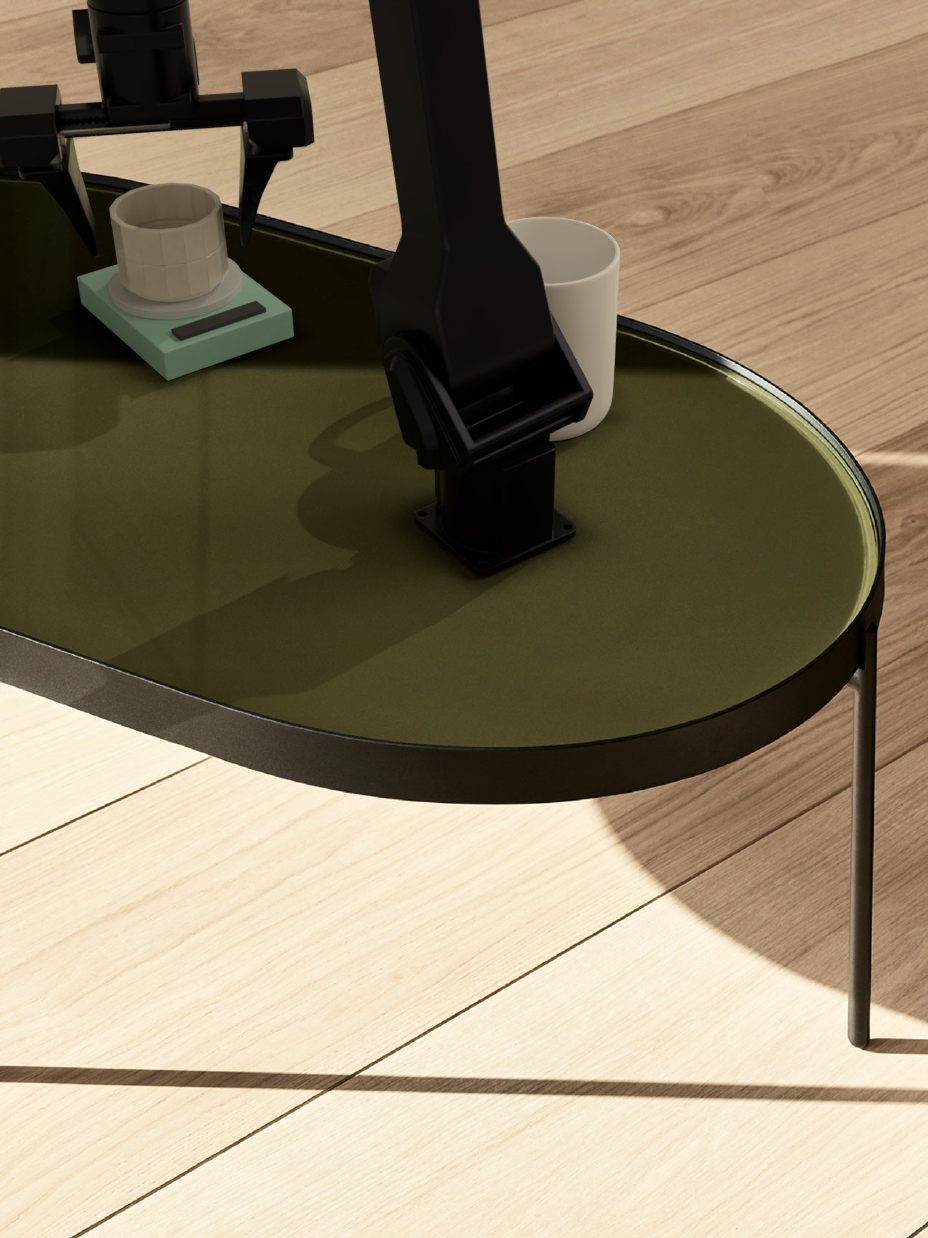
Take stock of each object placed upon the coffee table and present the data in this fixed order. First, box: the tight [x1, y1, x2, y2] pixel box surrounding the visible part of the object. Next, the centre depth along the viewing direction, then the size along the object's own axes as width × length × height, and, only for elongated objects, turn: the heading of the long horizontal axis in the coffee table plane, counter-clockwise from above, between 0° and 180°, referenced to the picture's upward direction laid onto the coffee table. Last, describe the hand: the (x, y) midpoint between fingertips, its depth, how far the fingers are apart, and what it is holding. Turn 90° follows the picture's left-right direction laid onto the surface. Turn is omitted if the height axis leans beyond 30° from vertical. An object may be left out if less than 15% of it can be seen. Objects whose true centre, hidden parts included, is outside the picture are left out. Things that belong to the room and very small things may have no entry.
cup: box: [505, 216, 621, 442], centre depth 97 cm, size 8×12×10 cm
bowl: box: [108, 182, 229, 302], centre depth 105 cm, size 7×7×5 cm
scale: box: [76, 257, 295, 381], centre depth 107 cm, size 12×9×3 cm
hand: (170, 247), depth 105 cm, fingers open, 9 cm apart
